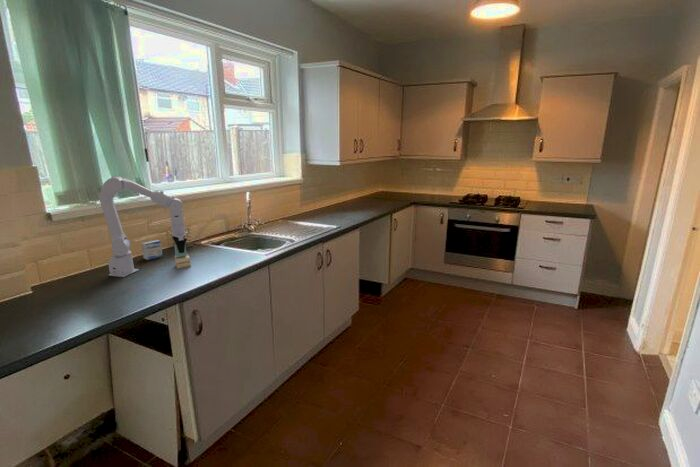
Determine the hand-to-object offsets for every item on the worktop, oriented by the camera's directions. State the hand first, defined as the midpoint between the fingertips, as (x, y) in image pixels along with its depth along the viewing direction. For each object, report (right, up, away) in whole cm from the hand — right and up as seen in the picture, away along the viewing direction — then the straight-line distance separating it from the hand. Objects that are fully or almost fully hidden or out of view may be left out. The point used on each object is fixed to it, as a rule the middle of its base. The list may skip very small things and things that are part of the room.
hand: (180, 251), depth 179 cm
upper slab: (0, -5, +2) cm, 5 cm away
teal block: (0, -2, 0) cm, 2 cm away
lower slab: (0, -7, +2) cm, 8 cm away
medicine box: (-21, -4, +14) cm, 26 cm away
